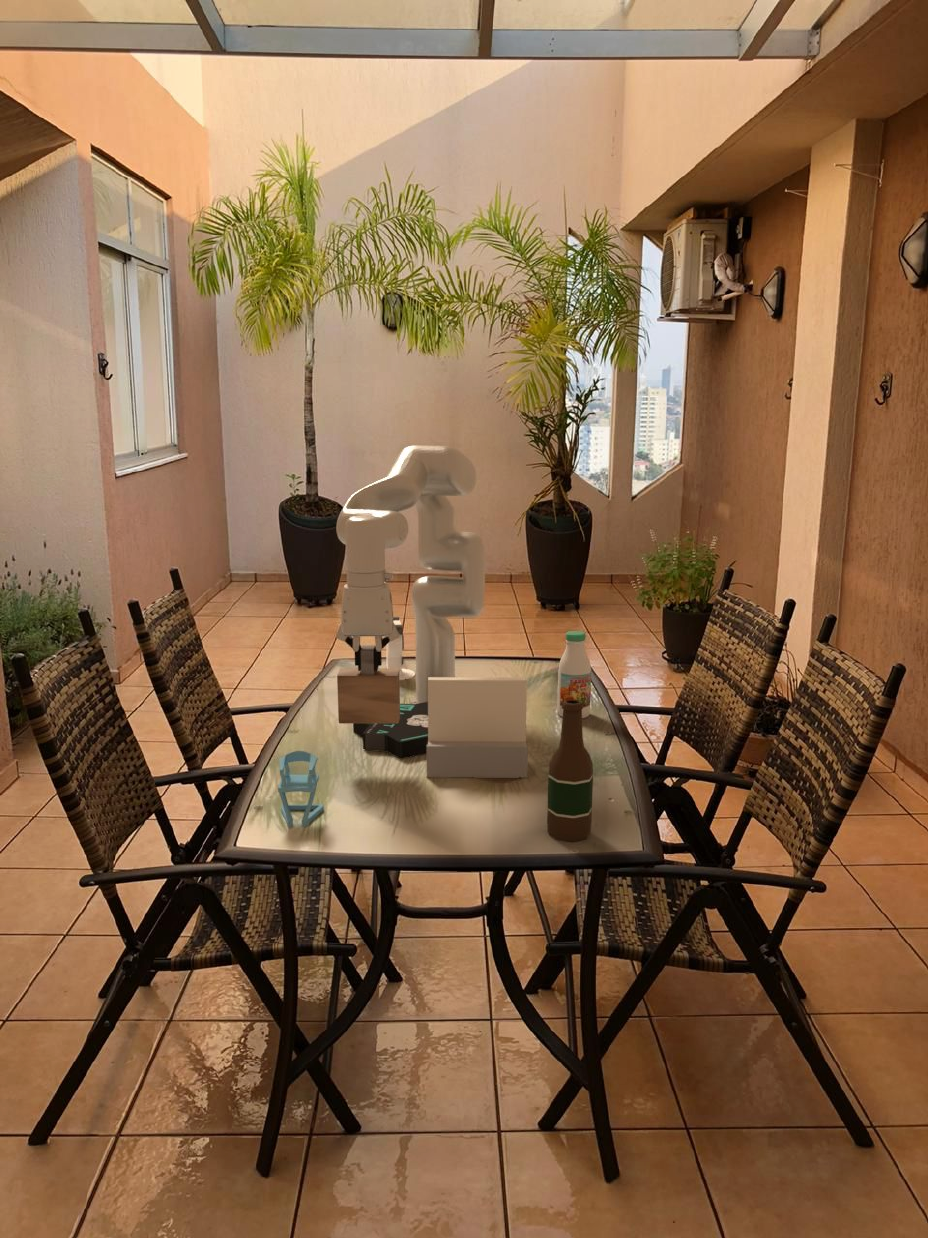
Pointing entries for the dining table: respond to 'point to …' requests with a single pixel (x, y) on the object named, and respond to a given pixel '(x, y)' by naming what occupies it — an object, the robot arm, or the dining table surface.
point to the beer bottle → (570, 780)
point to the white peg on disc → (397, 653)
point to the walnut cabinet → (368, 692)
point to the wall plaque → (398, 732)
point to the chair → (299, 787)
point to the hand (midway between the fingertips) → (368, 668)
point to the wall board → (477, 727)
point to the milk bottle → (574, 673)
